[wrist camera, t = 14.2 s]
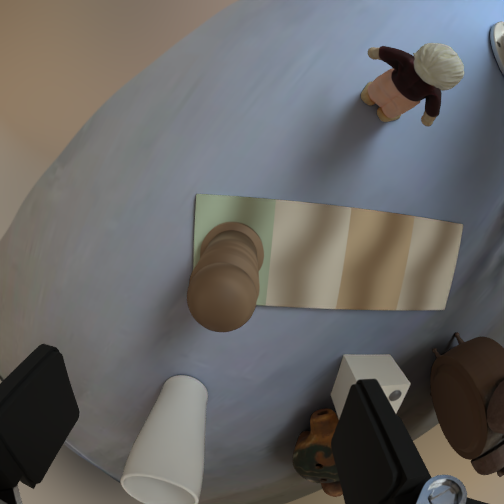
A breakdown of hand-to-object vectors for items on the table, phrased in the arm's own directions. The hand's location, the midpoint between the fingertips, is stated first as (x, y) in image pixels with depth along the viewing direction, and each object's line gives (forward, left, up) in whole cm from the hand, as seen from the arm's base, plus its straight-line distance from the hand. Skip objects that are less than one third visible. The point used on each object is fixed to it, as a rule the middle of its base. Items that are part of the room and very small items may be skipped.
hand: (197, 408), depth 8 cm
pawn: (0, 0, -20) cm, 20 cm away
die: (-15, +14, -20) cm, 29 cm away
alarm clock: (-28, +13, -20) cm, 37 cm away
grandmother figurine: (-12, -16, -20) cm, 29 cm away
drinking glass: (+5, +17, -20) cm, 27 cm away
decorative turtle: (-13, +24, -20) cm, 34 cm away
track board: (-10, 0, -20) cm, 23 cm away
